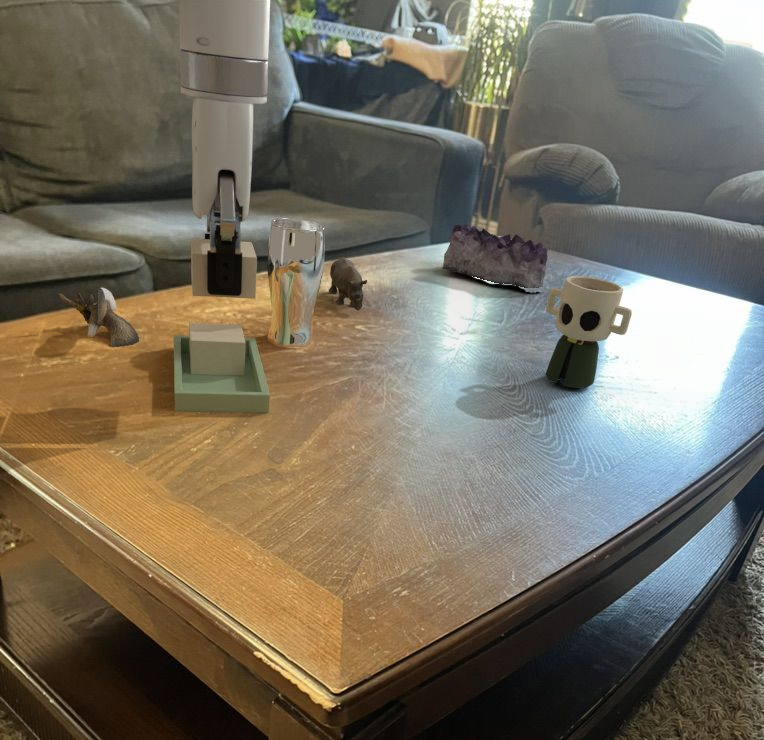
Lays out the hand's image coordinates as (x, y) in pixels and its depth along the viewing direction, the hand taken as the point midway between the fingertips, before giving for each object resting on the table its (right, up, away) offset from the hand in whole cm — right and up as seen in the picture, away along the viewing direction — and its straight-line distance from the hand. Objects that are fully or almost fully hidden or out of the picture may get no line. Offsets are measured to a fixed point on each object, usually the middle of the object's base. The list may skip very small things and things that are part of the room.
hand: (222, 282), depth 77 cm
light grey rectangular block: (0, -1, 0) cm, 1 cm away
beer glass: (+4, -1, +24) cm, 24 cm away
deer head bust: (-18, -2, +17) cm, 25 cm away
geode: (+36, +20, +66) cm, 78 cm away
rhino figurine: (+11, +9, +42) cm, 44 cm away
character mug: (+40, -6, +24) cm, 47 cm away
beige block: (-3, -6, +13) cm, 15 cm away
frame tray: (-3, -8, +10) cm, 13 cm away
